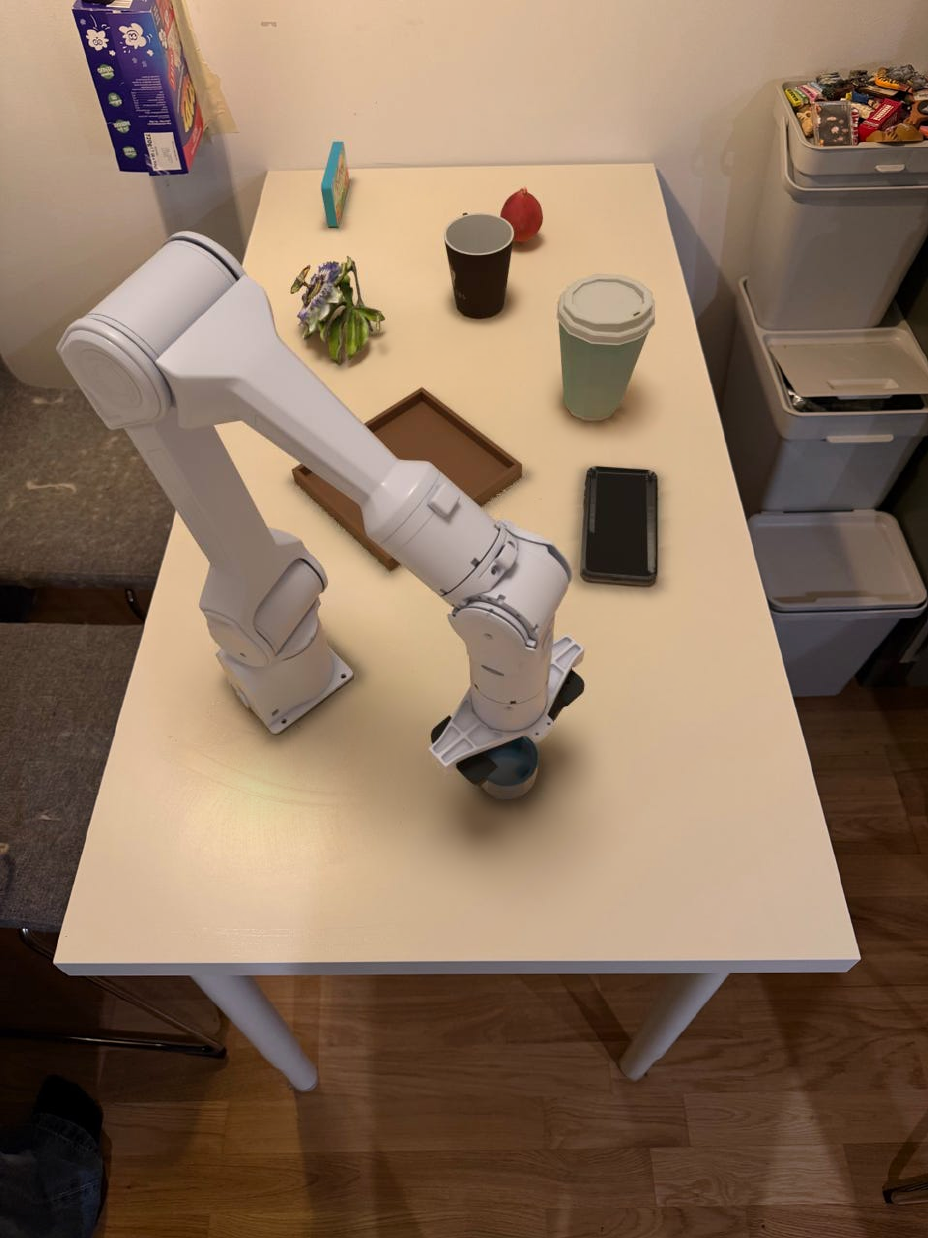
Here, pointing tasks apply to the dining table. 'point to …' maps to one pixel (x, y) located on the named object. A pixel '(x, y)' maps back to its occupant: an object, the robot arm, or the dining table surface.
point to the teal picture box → (335, 184)
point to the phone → (620, 526)
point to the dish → (512, 768)
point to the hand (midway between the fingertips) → (507, 747)
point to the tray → (421, 436)
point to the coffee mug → (479, 262)
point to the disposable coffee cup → (601, 341)
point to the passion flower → (335, 308)
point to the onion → (523, 215)
